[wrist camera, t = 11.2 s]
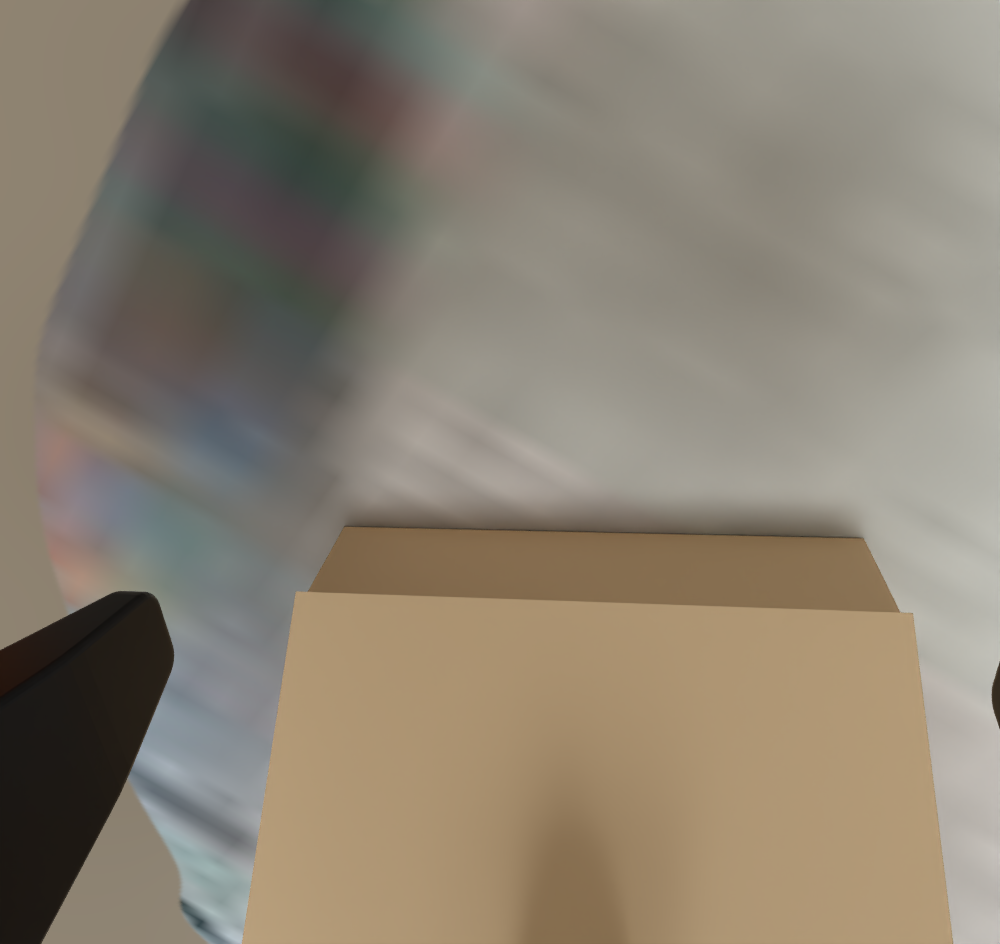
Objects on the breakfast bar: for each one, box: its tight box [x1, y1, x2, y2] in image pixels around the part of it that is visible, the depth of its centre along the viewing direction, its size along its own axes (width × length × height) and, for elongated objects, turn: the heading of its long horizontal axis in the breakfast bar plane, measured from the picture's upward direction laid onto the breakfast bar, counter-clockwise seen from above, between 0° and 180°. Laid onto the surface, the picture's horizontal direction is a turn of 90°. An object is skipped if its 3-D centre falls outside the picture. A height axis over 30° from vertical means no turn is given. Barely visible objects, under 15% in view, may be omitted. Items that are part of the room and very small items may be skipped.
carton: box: [308, 527, 900, 613], centre depth 24 cm, size 12×15×4 cm
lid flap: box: [242, 592, 953, 944], centre depth 16 cm, size 12×15×5 cm
